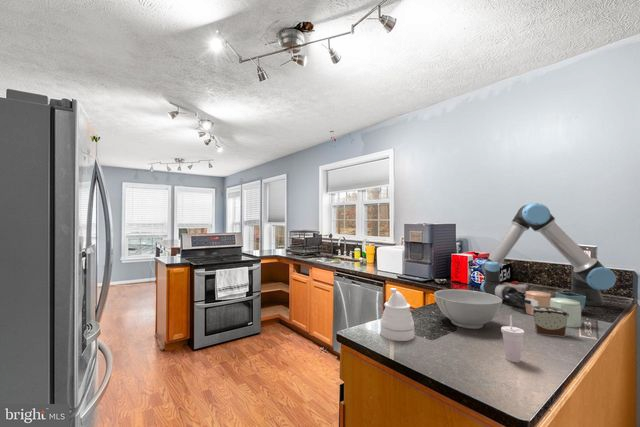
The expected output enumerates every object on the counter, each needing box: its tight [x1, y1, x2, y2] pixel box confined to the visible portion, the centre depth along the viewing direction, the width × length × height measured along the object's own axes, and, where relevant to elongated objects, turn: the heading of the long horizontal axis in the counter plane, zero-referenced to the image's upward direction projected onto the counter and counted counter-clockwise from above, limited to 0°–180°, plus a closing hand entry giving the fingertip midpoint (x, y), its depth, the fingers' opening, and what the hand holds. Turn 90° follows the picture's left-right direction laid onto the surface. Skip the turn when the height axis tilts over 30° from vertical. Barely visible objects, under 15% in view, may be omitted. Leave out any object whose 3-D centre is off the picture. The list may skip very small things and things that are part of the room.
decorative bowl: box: [433, 288, 503, 330], centre depth 132 cm, size 27×27×12 cm
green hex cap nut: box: [550, 297, 582, 328], centre depth 133 cm, size 10×10×10 cm
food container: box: [531, 306, 569, 338], centre depth 121 cm, size 12×6×10 cm, turn 71°
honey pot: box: [380, 287, 415, 342], centre depth 119 cm, size 13×13×18 cm
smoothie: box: [500, 315, 525, 363], centre depth 97 cm, size 6×6×14 cm
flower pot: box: [555, 291, 586, 313], centre depth 150 cm, size 9×9×9 cm
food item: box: [501, 280, 530, 293], centre depth 179 cm, size 14×8×10 cm, turn 48°
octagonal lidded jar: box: [525, 290, 553, 316], centre depth 147 cm, size 10×10×10 cm
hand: (546, 303), depth 143 cm, fingers closed on octagonal lidded jar, 10 cm apart
